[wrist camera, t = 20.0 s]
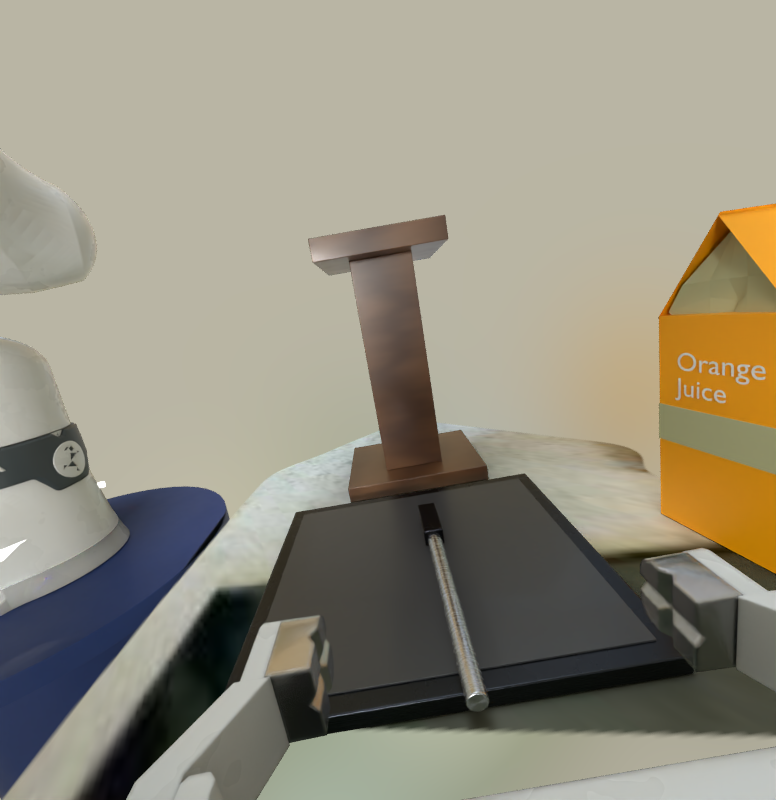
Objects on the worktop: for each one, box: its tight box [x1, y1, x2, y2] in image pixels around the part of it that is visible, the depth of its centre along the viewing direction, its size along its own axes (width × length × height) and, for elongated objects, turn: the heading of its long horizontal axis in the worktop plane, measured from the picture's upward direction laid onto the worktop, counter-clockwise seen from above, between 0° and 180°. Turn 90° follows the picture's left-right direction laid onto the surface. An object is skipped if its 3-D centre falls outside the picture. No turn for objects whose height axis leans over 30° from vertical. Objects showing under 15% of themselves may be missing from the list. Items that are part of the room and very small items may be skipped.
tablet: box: [224, 474, 694, 734], centre depth 27 cm, size 22×20×1 cm
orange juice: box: [659, 204, 776, 574], centre depth 24 cm, size 8×9×20 cm
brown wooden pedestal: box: [308, 215, 488, 502], centre depth 42 cm, size 14×12×25 cm
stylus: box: [418, 503, 489, 712], centre depth 24 cm, size 1×16×1 cm, turn 3°
